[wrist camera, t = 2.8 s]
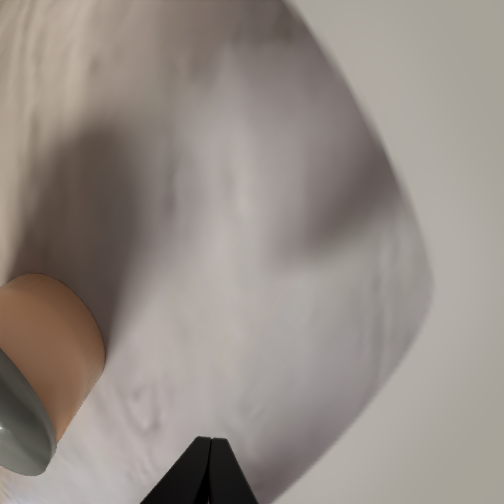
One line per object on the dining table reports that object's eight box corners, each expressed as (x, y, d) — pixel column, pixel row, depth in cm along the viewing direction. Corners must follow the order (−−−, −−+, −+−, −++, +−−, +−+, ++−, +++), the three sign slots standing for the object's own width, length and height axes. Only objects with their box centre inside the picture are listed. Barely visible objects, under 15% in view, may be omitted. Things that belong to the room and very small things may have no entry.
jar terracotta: (116, 403, 13) (71, 496, 7) (16, 377, 13) (-42, 440, 7) (98, 277, 11) (8, 349, 6) (-9, 265, 11) (-97, 308, 6)
